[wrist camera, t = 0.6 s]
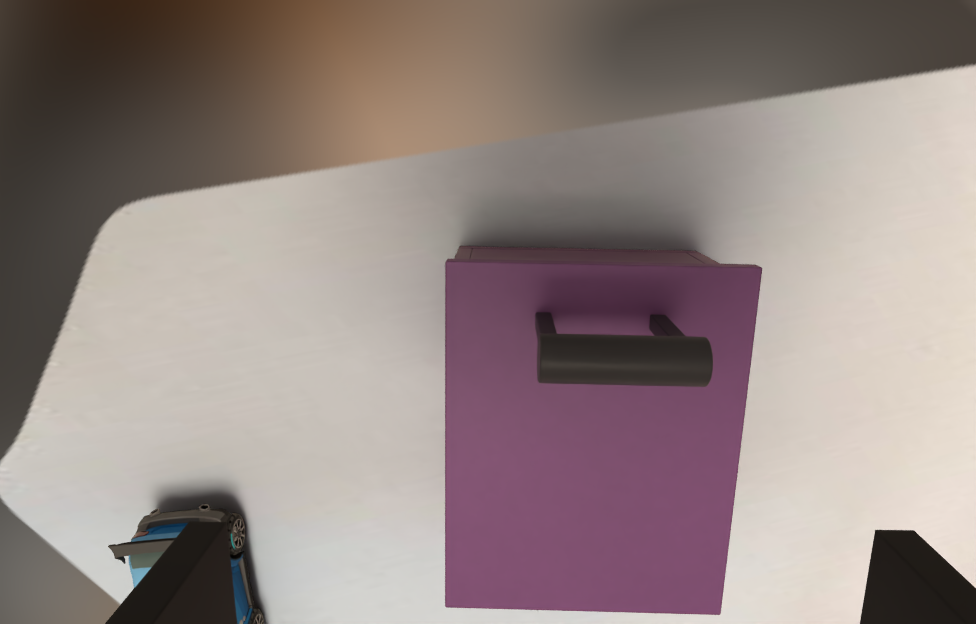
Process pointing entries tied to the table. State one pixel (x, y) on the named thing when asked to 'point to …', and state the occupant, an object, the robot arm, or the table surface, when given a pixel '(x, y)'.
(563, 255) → the storage box
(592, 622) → the table surface
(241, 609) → the toy car
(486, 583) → the lid
